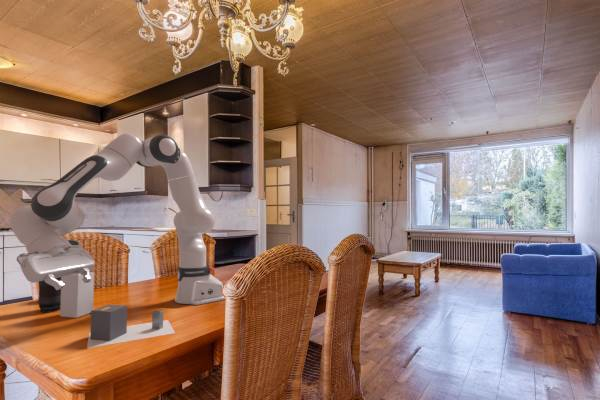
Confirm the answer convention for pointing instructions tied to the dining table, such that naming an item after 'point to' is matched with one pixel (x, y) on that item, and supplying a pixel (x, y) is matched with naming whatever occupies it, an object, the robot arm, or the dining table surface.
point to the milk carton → (76, 296)
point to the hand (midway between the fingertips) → (75, 284)
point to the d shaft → (157, 319)
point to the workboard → (135, 334)
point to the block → (108, 322)
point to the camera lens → (49, 297)
